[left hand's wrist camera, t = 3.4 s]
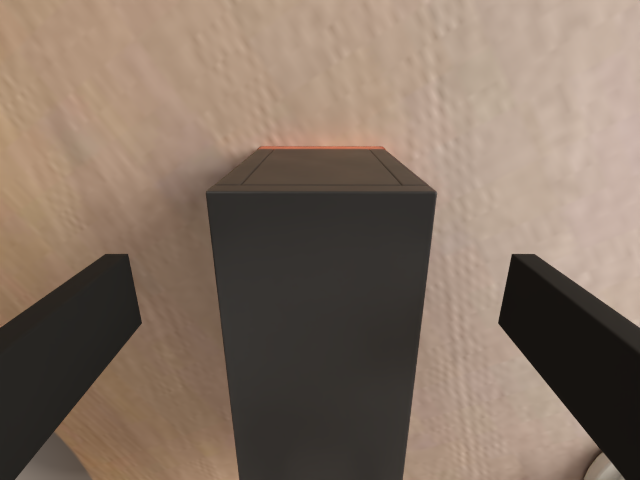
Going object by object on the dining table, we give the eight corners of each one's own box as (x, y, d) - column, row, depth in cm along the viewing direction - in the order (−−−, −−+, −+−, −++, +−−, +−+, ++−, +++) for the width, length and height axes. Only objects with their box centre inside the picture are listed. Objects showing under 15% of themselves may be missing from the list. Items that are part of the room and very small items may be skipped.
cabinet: (368, 375, 27) (396, 538, 17) (273, 374, 27) (245, 537, 17) (382, 146, 21) (438, 191, 11) (260, 146, 21) (204, 190, 11)
